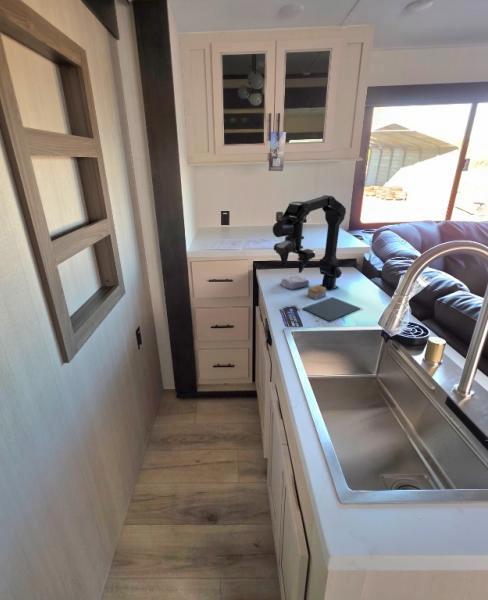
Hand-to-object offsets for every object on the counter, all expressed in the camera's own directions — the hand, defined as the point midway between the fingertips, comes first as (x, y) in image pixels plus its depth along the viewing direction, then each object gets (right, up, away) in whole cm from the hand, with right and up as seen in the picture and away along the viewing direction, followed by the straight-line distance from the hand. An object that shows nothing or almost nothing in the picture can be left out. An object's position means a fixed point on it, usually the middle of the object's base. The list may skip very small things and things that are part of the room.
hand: (291, 269), depth 136 cm
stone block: (+6, -6, +23) cm, 25 cm away
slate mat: (+16, -17, -3) cm, 24 cm away
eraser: (+14, -11, +10) cm, 20 cm away
